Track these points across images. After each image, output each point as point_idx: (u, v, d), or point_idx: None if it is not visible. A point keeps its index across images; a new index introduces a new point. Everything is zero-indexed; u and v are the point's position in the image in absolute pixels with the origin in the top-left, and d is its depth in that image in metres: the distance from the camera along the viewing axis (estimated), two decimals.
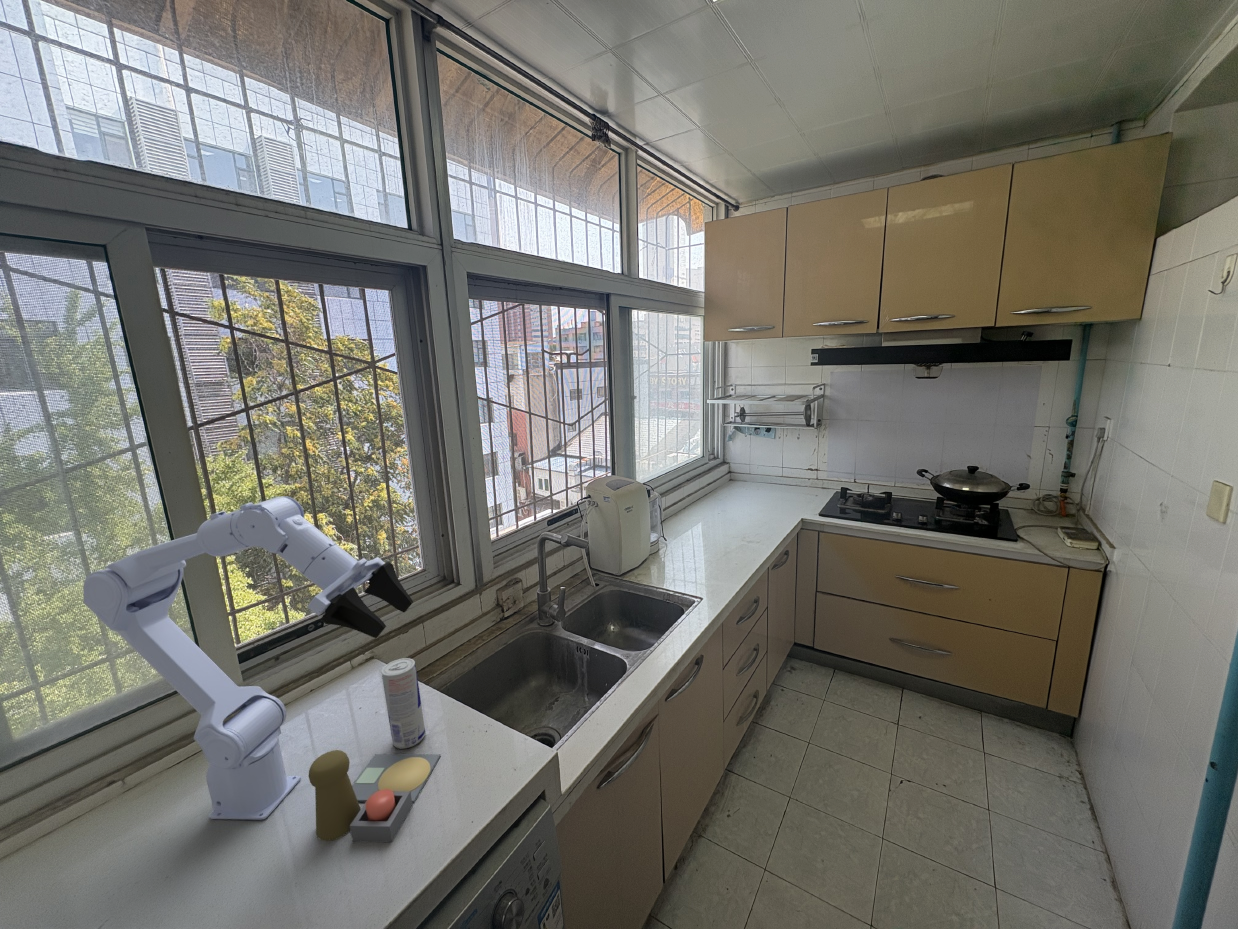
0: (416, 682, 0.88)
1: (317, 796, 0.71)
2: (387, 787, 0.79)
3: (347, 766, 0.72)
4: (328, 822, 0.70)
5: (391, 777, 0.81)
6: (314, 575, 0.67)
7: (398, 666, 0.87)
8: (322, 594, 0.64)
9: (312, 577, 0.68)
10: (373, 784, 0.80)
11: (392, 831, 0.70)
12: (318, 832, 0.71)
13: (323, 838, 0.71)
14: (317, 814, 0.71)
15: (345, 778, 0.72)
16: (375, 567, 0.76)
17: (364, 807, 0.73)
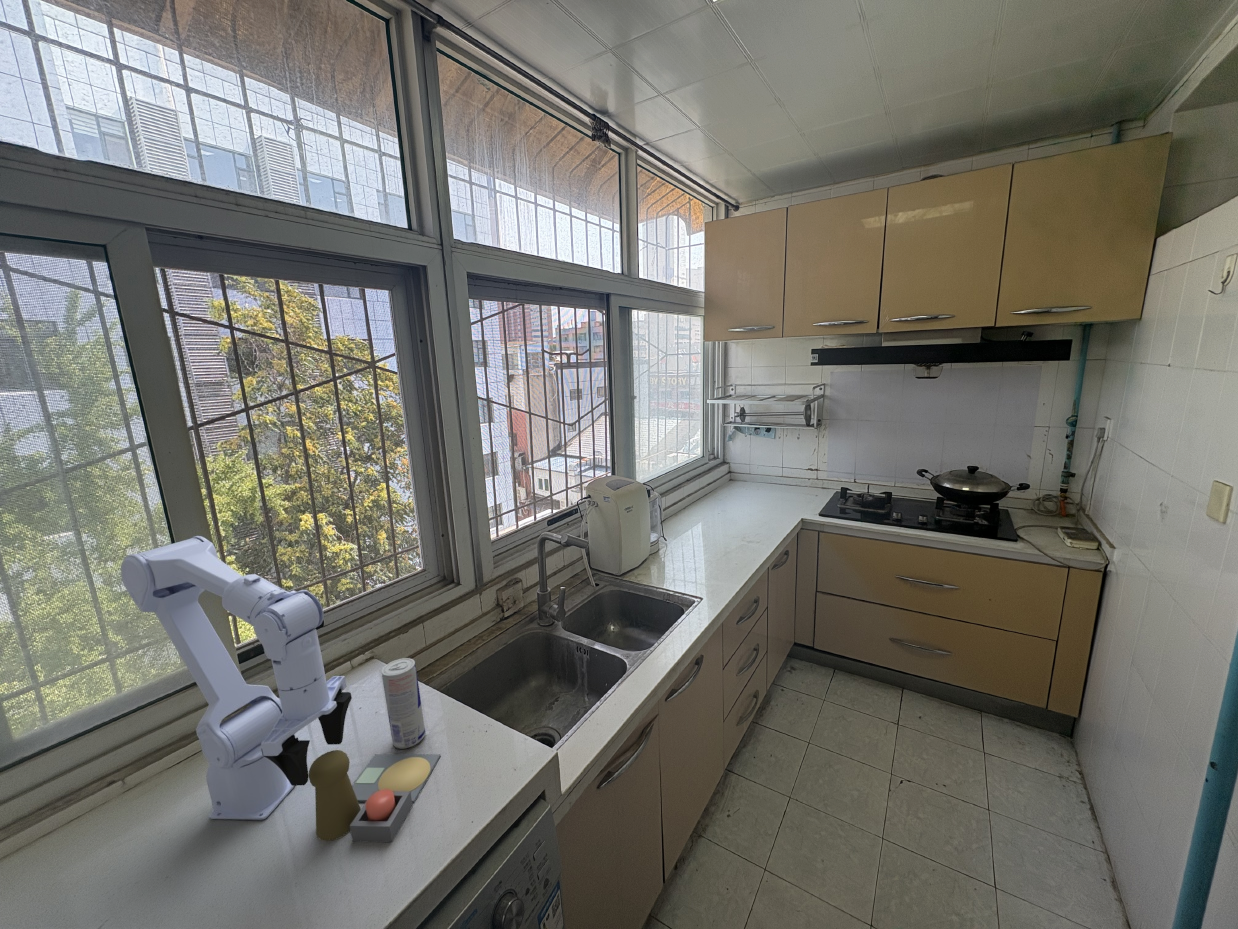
0: (416, 682, 0.88)
1: (317, 796, 0.71)
2: (387, 787, 0.79)
3: (347, 766, 0.72)
4: (328, 822, 0.70)
5: (391, 777, 0.81)
6: (286, 700, 0.67)
7: (398, 666, 0.87)
8: (281, 740, 0.64)
9: (283, 699, 0.67)
10: (373, 784, 0.80)
11: (392, 831, 0.70)
12: (318, 832, 0.71)
13: (323, 838, 0.71)
14: (317, 814, 0.71)
15: (345, 778, 0.72)
16: None
17: (364, 807, 0.73)
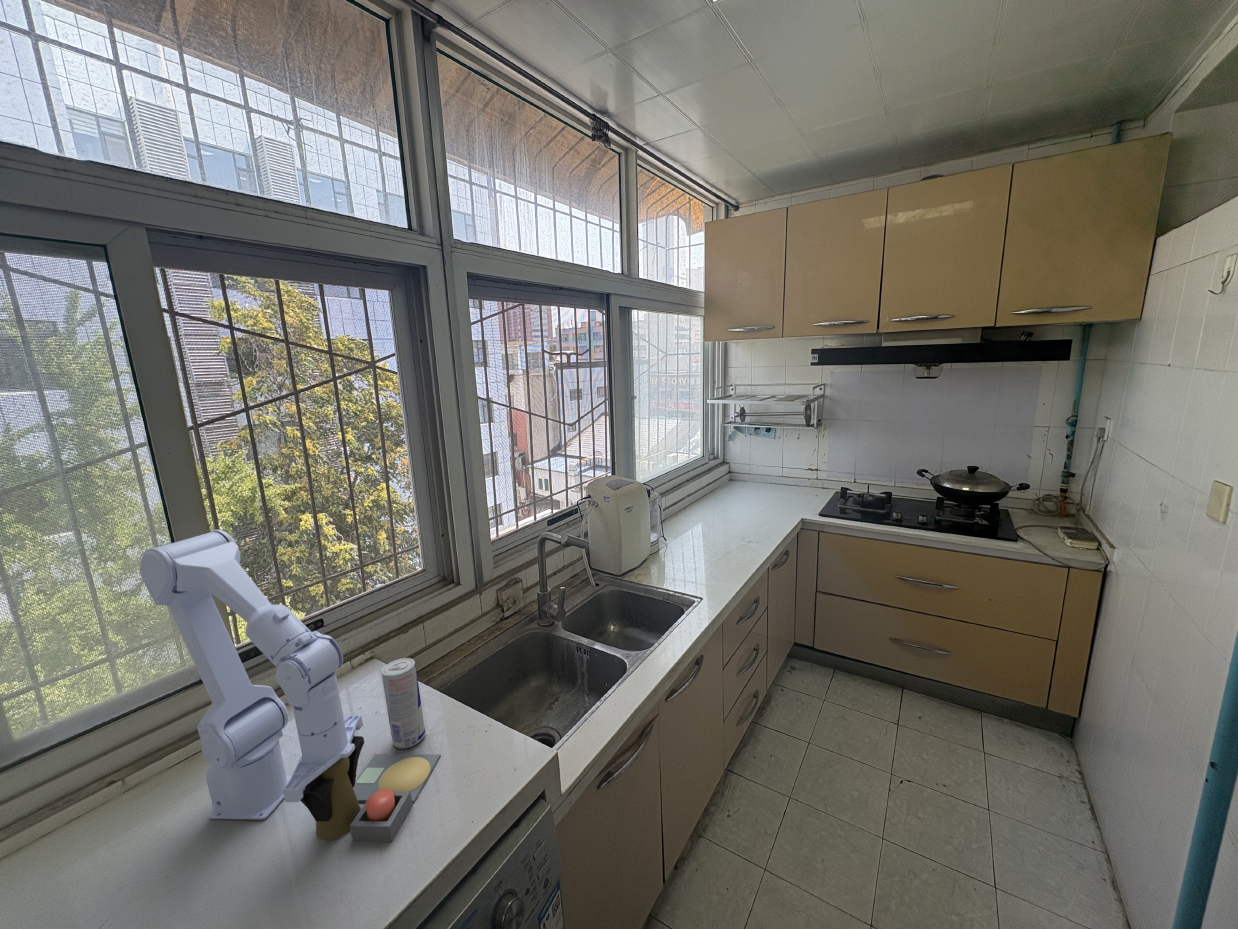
0: (416, 682, 0.88)
1: None
2: (387, 787, 0.79)
3: (347, 766, 0.72)
4: (328, 822, 0.70)
5: (391, 777, 0.81)
6: (306, 744, 0.68)
7: (398, 666, 0.87)
8: (302, 786, 0.65)
9: (303, 743, 0.68)
10: (373, 784, 0.80)
11: (392, 831, 0.70)
12: (318, 832, 0.71)
13: (323, 838, 0.71)
14: None
15: (345, 778, 0.72)
16: None
17: (364, 807, 0.73)
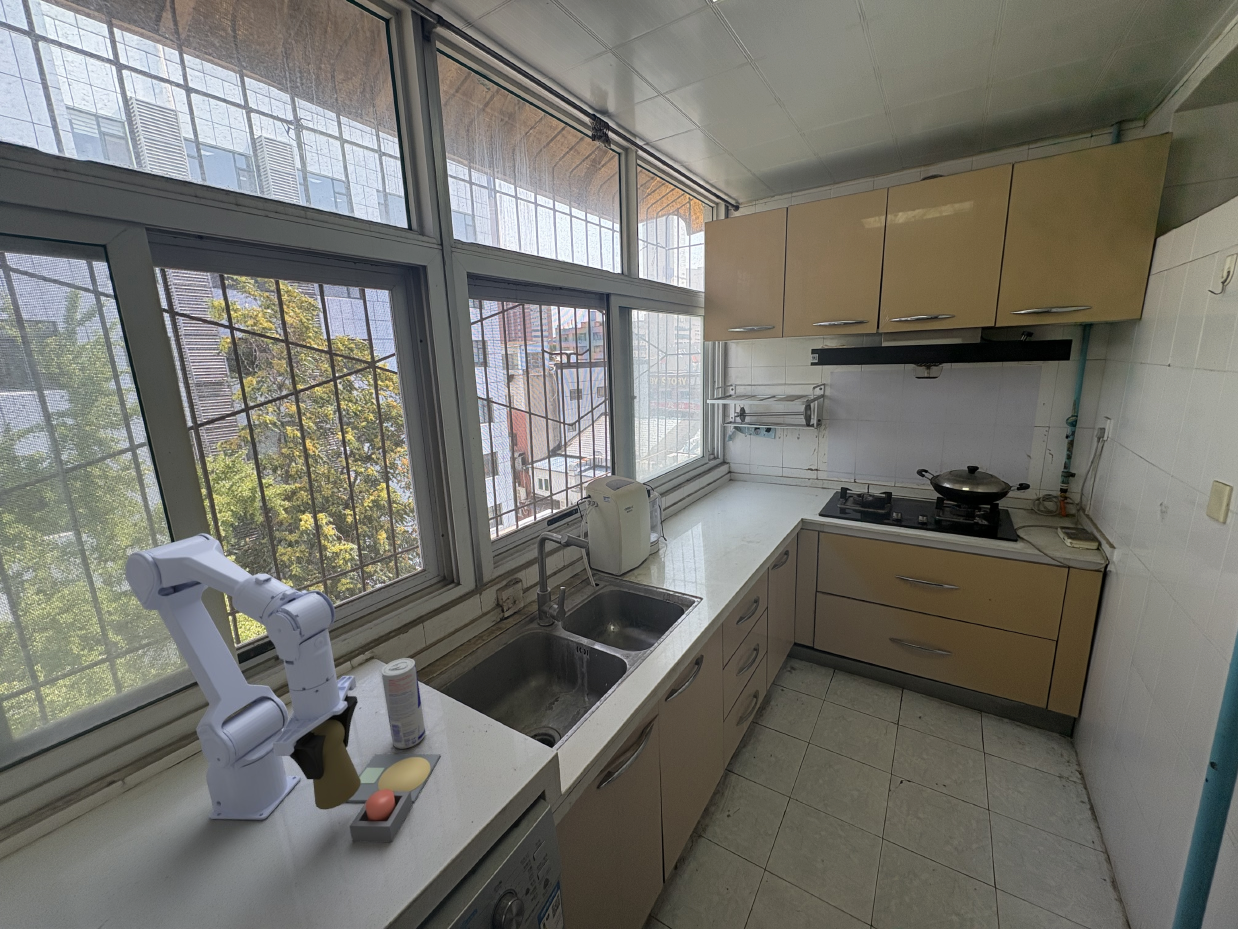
0: (416, 682, 0.88)
1: None
2: (387, 787, 0.79)
3: (342, 734, 0.71)
4: (326, 791, 0.70)
5: (391, 777, 0.81)
6: (297, 700, 0.67)
7: (398, 666, 0.87)
8: (293, 740, 0.64)
9: (294, 698, 0.67)
10: (373, 784, 0.80)
11: (392, 831, 0.70)
12: (317, 801, 0.70)
13: (322, 807, 0.70)
14: (314, 783, 0.70)
15: (341, 746, 0.71)
16: None
17: (364, 807, 0.73)
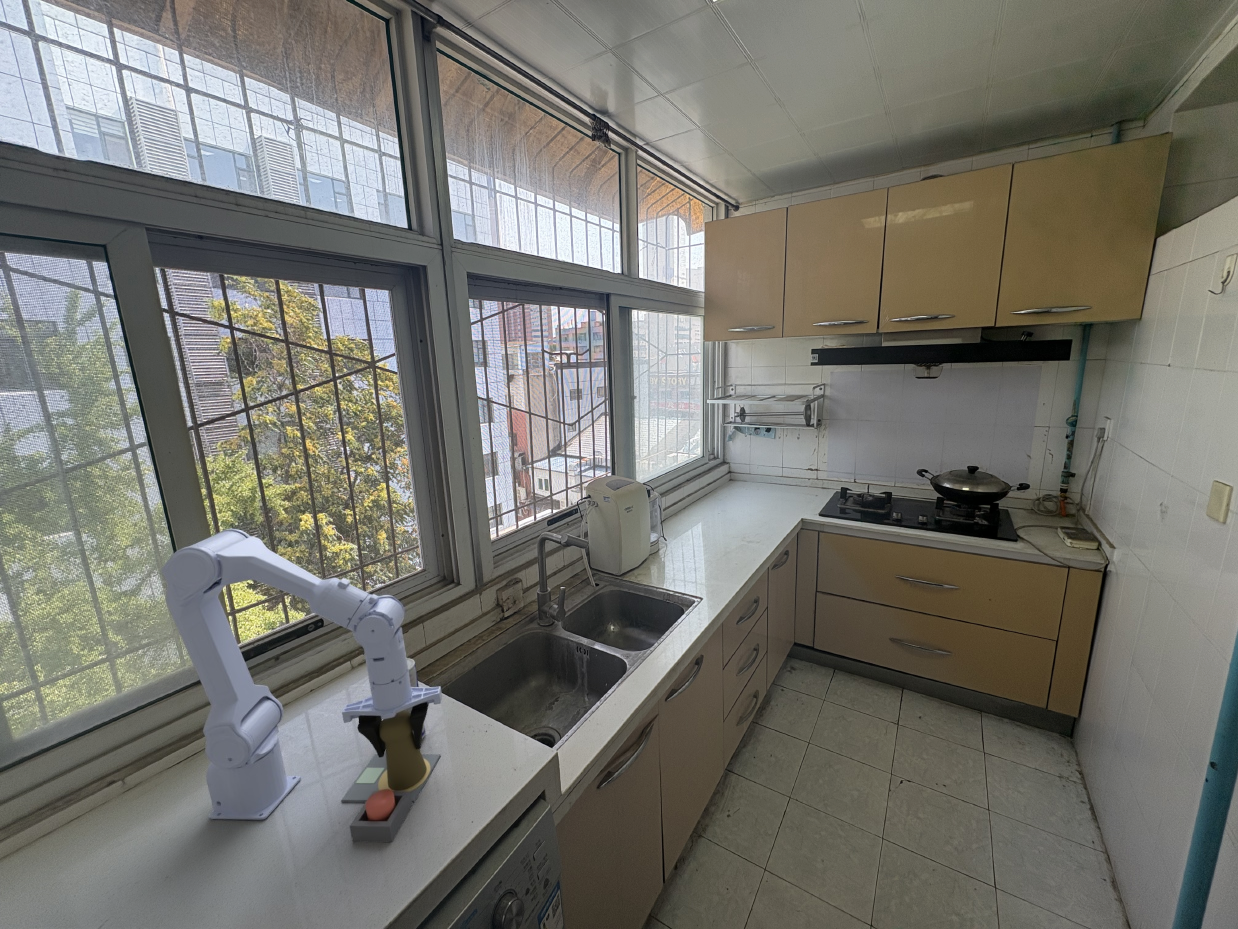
0: (416, 682, 0.88)
1: None
2: (387, 787, 0.79)
3: (399, 735, 0.77)
4: (387, 769, 0.79)
5: None
6: None
7: None
8: (348, 713, 0.76)
9: None
10: (373, 784, 0.80)
11: (392, 831, 0.70)
12: None
13: (388, 779, 0.80)
14: None
15: (400, 743, 0.78)
16: None
17: (364, 807, 0.73)
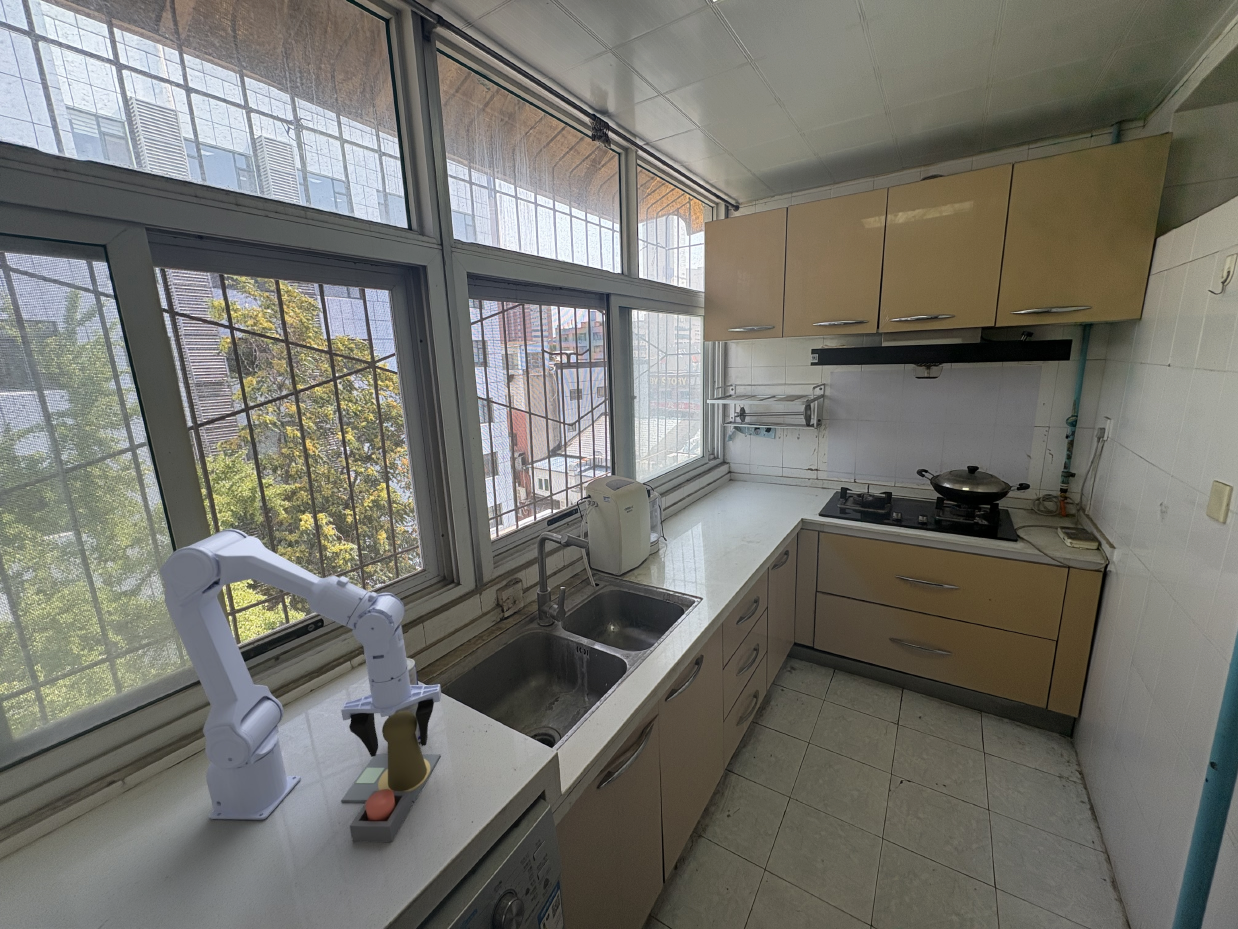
0: (416, 682, 0.88)
1: None
2: (387, 787, 0.79)
3: (402, 736, 0.77)
4: (388, 770, 0.79)
5: None
6: None
7: None
8: (348, 711, 0.76)
9: None
10: (373, 784, 0.80)
11: (392, 831, 0.70)
12: None
13: None
14: None
15: (402, 744, 0.78)
16: None
17: (364, 807, 0.73)
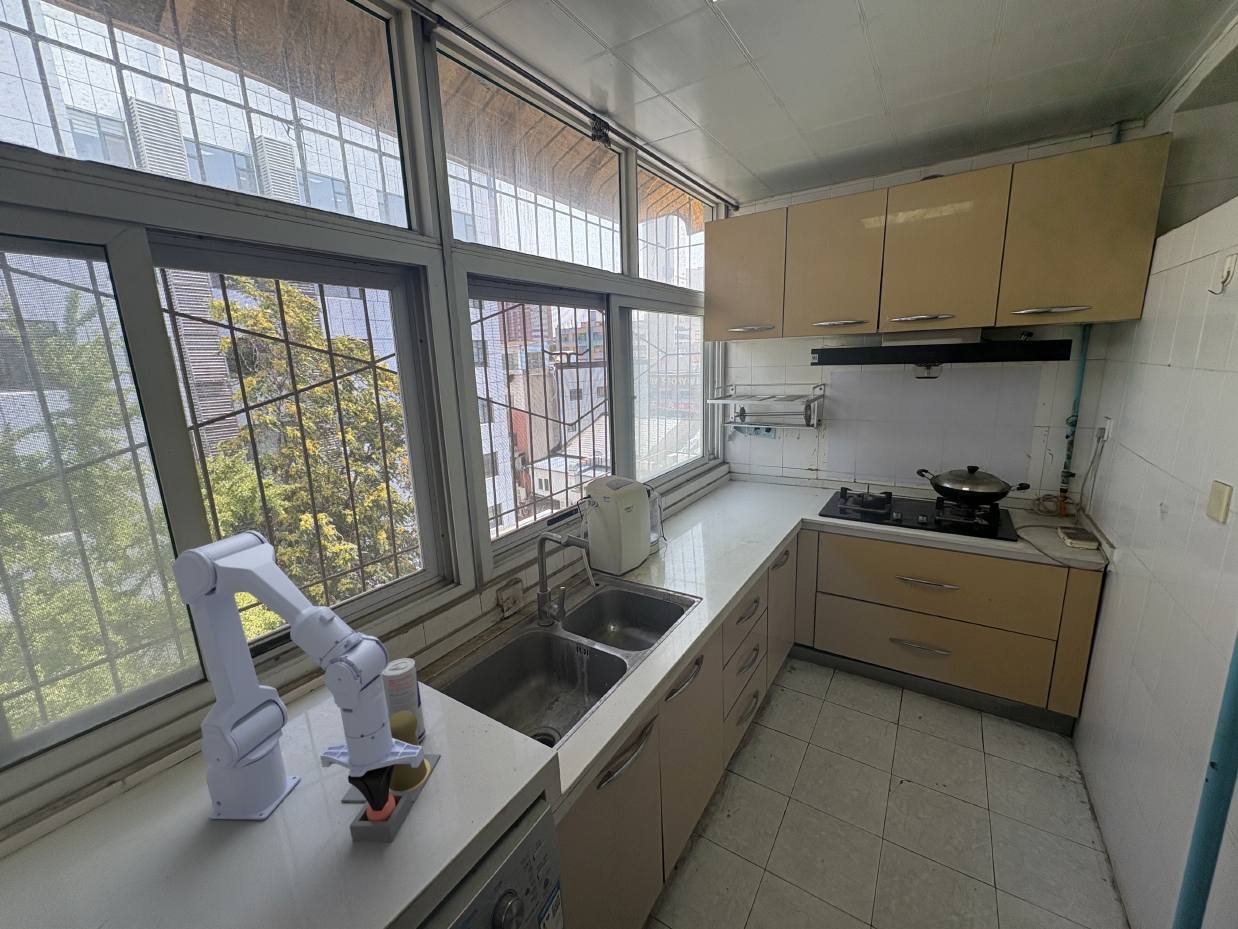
0: (416, 682, 0.88)
1: None
2: None
3: (402, 735, 0.77)
4: None
5: None
6: None
7: (398, 666, 0.87)
8: (326, 758, 0.70)
9: None
10: None
11: (392, 831, 0.70)
12: None
13: None
14: None
15: None
16: None
17: (364, 807, 0.73)
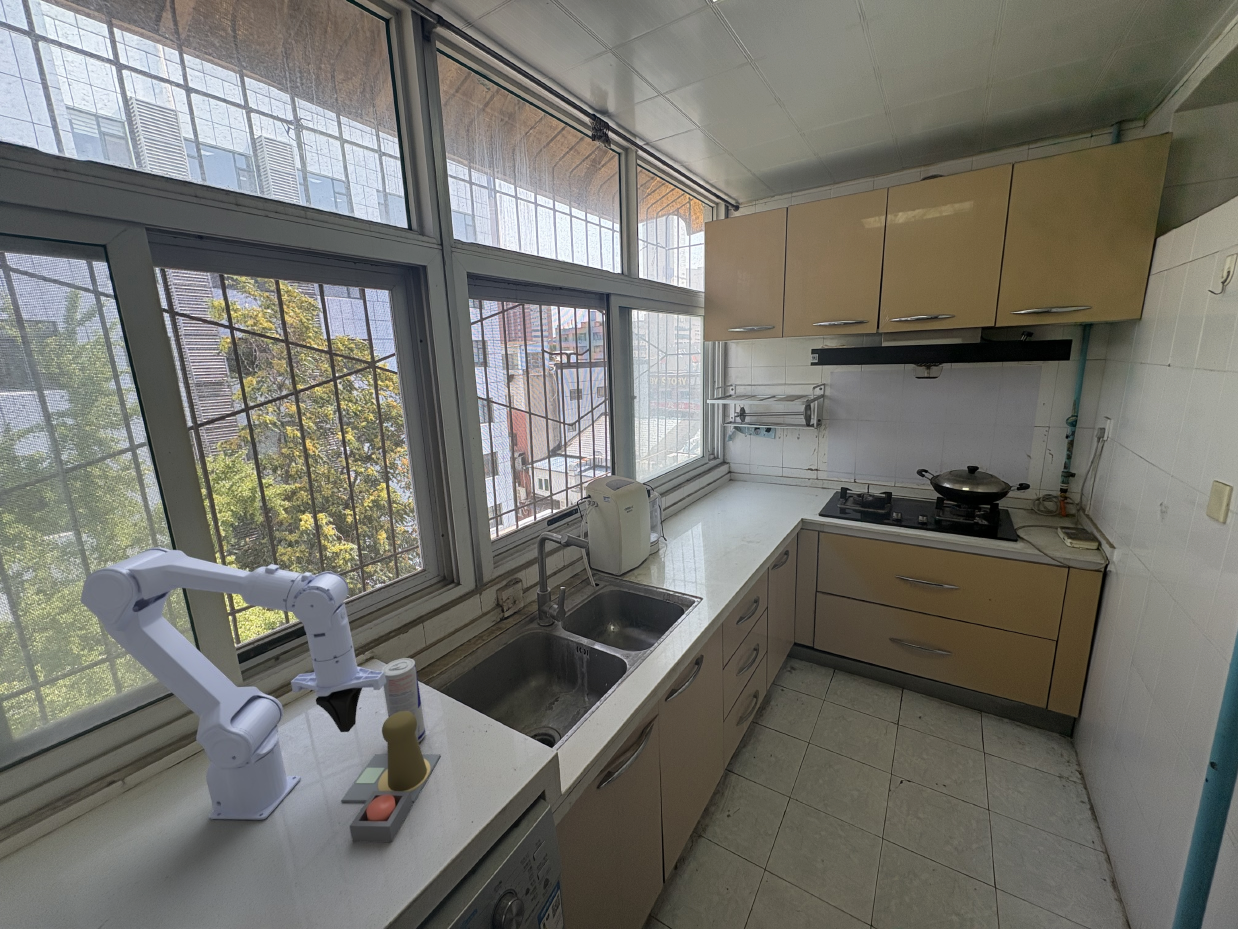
0: (416, 682, 0.88)
1: None
2: (387, 787, 0.79)
3: (402, 736, 0.77)
4: (388, 770, 0.79)
5: None
6: None
7: (398, 666, 0.87)
8: (296, 684, 0.77)
9: None
10: (373, 784, 0.80)
11: (392, 831, 0.70)
12: None
13: None
14: None
15: (402, 744, 0.78)
16: None
17: (364, 807, 0.73)
